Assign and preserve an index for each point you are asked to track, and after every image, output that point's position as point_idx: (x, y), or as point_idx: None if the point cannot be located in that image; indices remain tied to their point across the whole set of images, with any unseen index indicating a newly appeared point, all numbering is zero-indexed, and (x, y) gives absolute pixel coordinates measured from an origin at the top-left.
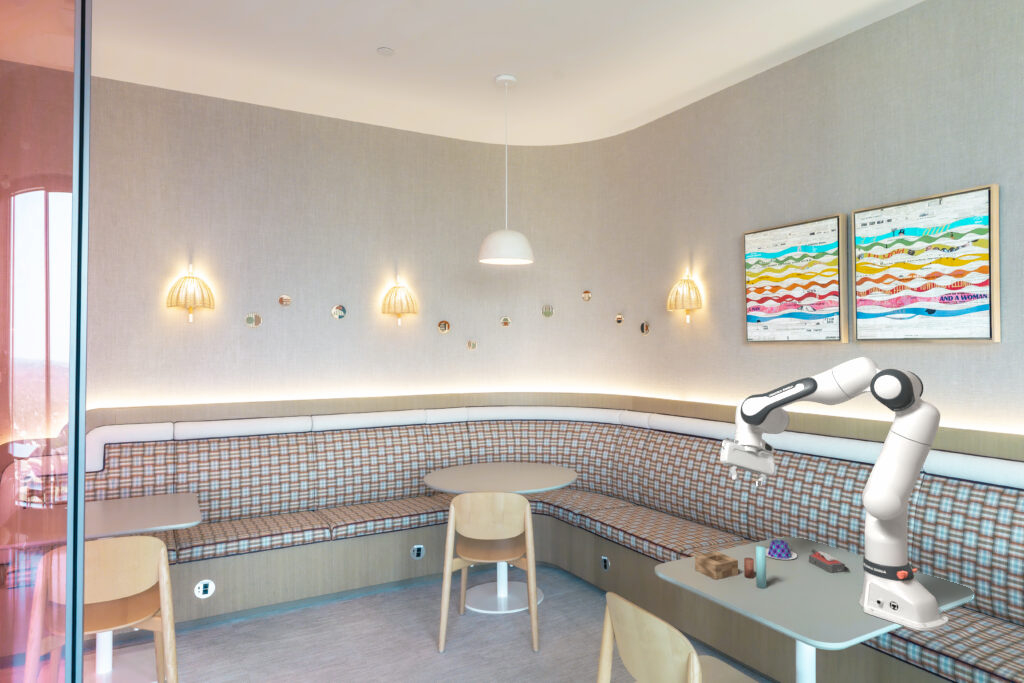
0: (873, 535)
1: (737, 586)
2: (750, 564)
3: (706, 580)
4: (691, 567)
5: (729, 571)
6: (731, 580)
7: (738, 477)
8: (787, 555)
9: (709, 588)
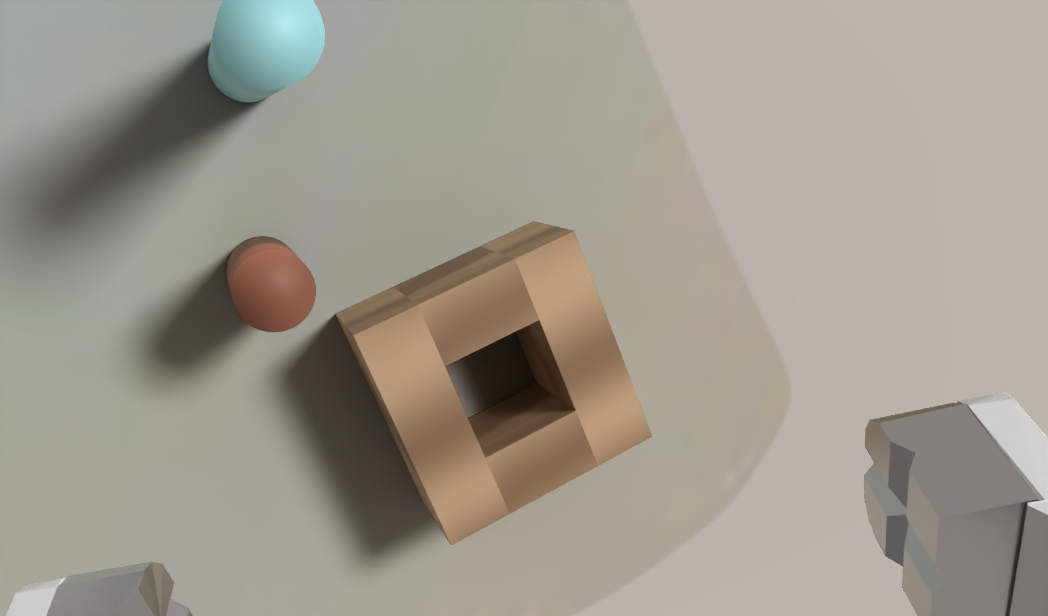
0: None
1: (426, 93)
2: (273, 247)
3: (598, 219)
4: None
5: (424, 281)
6: (427, 207)
7: (922, 452)
8: None
9: (628, 80)
